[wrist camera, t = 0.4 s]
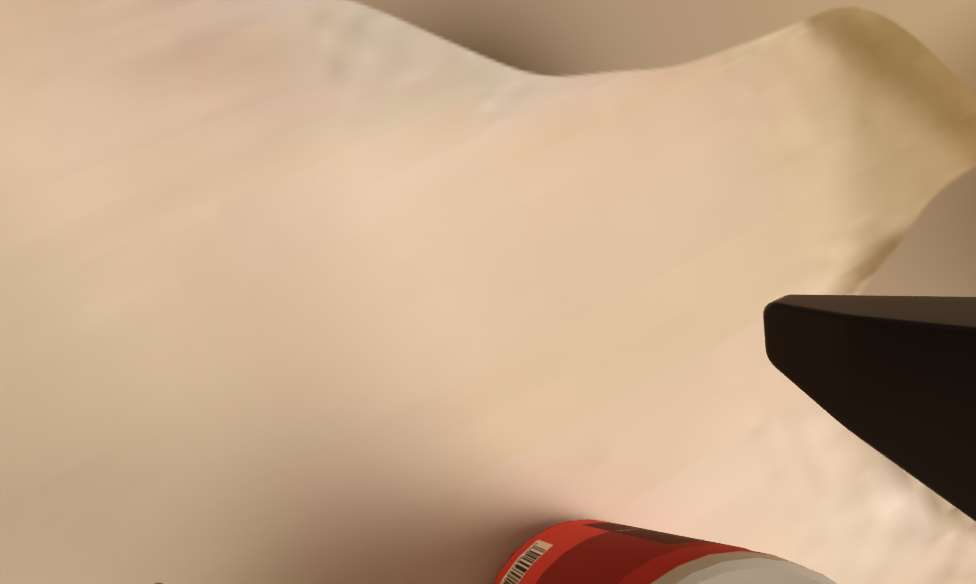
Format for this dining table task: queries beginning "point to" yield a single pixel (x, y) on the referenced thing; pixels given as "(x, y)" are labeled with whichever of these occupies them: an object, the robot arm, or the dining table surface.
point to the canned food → (642, 559)
